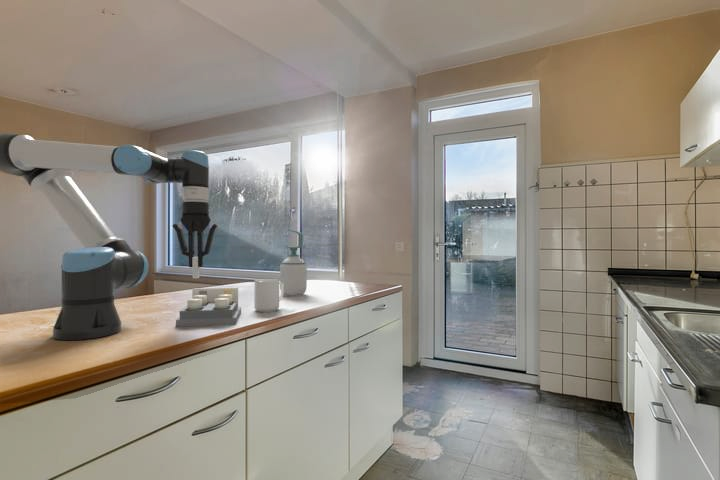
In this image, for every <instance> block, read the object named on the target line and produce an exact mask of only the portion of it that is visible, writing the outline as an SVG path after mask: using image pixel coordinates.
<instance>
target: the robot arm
mask: <svg viewBox="0 0 720 480" xmlns="http://www.w3.org/2000/svg"><path fill="white" fill-rule="evenodd" d="M74 171H76V172H86V173H87V172H92V173H103V174H113V175H114V174H115V175H125V176H135V177H136V176H137V177H141V179H143V181H144V182H146V183H147V184H148V183H152V184H175V183H179V184H182V187H181V188H182V189H181V194H182V195H181V197H182V201H183V202H182V205H181V206H182V207H181V208H182V209H181V210H182V212H181V214H182V216H181V218H180V221H178V222H177V223H173V224H172V227H173V229H174V230H175V232H176V235H177V238H178V242H179V243H178V244H179V246H180V247H179V248H180V250H181V251H180V252H181V255H183V256H187V257H188V267H189V268H192V279H200V277H201V276H200V268H203V266H204V256H207V255H209V254H210V251H211V247H212V245H213V241H214V240H213V239H214V235H215V232H216V230H217V229H218V227H219V225H218V224H217V223H214V222H213V221H211V218H210V208H209V207H210V203H208V202H209V201H210V198H209V196H210V195H209V194H210V192H209V191H210V189H209V186H210V185H209V181H210V180H209V178H210V175H209V174H210V167H209V156H208V153H206V152H204V151H200V150H195V149H194V150H193V149H191V150H190V149H188V150H184V151H182V153H181V157H177V158H173V157H172V158H170V157H169V158H166V157H162V156H160V155H158V154H155V153H153V152H151V151H148V150H146V149H145V148H143V147H140V146H136V145H133V144H123V145H121V146H115V145H103V144H91V143H80V142H68V141H67V142H66V141H54V140H43V139H34V138H33V137H32V136H30V135H27V134H18V133H11V132H0V172H1V173H4V174H7V175H12V176H15V177H16V176H17V177H22V178H23V179H24V180H25V181H26V183H27V185H29V186H30V187H31V189H32V190H33V191H35V192H40V193H42V194H43V196H45V198H46V200H48V201H49V203H50V204H51V206H52V207H53V208H54V210H55V211H56V212H57V214H58V215H59V216H60V218H61V219H62V221H63V222H64V223H65V225H66V226H67V227H68V228H69V230H70V231H71V232H72V233H73V235H74V236H75V237H76V239H77V240H78V241H79V243H80V244H81V245H82V246H83V247H81V248H75V249H70V250H67V251H65V252H64V253H63V255H62V258H61V259H62V261H61V265H60V269H61V308H60V310H59V313H58V315H57V318H56V321H55V324H54V326H53V327H52V338H53V339H54V340H59V341H79V340H80V341H81V340H89V339H97V338H103V337H106V336H110V335H114V334H117V333H119V332H121V331H122V321H121V318H120V315H119V313H118V309H117V308H116V305H115V291H116V290H120V289H121V290H122V289H129V288H132V287H135V286H137V285H139V284H140V283H142V282H143V281H144V280H145V278H146V277H147V275H148V271H149V261H148V259H147V257H146V256H145V254H144V253H142V252H141V251H139V250H135V249H132V247H131V246H130V245H129V244H128V242H127V240H125V239H124V238H118V237H117V236H116V235H115V234H114V233H113V231H112V230H111V229H110V227H109V226H108V225H107V224H106V221H104V220H103V218H102V217H101V215H100V214H99V212H97V210H96V209H95V208H94V206H93V205H92V204H91V202H90V201H89V199H88V198H87V197H86V195H84V194H83V191H81V189H80V188H79V186H77V184H76V183H75V181H74V180H73V178H74V176H75V174H74V173H75V172H74ZM207 227H208V228H209V231H208V235H207V237H206V238H207V239H206V243H205V247H204V231H205V230H206V229H207ZM183 228H185V230H187V235H188V236H187V237H188V244H187V242H186V239H185V235H184V232H183ZM195 233H196V235H197V236H196V237H197V238H196V239H197V243H196V244H197V256H196V255H195ZM187 246H188V247H187Z"/></svg>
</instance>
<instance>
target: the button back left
mask: <svg viewBox="0 0 720 480" xmlns="http://www.w3.org/2000/svg"><path fill="white" fill-rule="evenodd" d="M193 299H202V306H204V305H207V295H195V296H193Z"/></svg>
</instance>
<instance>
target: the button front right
mask: <svg viewBox="0 0 720 480" xmlns="http://www.w3.org/2000/svg"><path fill="white" fill-rule="evenodd" d="M215 309H229V298H217V299H215Z"/></svg>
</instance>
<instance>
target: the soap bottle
mask: <svg viewBox="0 0 720 480" xmlns="http://www.w3.org/2000/svg"><path fill="white" fill-rule="evenodd" d="M288 231H291V232H293V233H296V234H297V236H298V244H297V246H287V247H286V249H289V251H291V252H290V253H291V254H288V255H287V258H286V259H283V261H282V262H281V263H280V266H279V282H280V283H284V295H283V296H285V295H286V296H285V297H301V296H303V295H304V294H305V293H306V291H307V283H308V281H307V280H308V279H307V276H308V275H307V274H308V273H307V272H308V271H307V269H308V268H307V267H308V265H307V262H306V261H304V259H302V258H301V257H300V254H297V251H298V249H300V248H303V232H301V231H298V230H297V229H296V230H295V229H292V228H288ZM279 291H281V284H279ZM300 295H301V296H300Z"/></svg>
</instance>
